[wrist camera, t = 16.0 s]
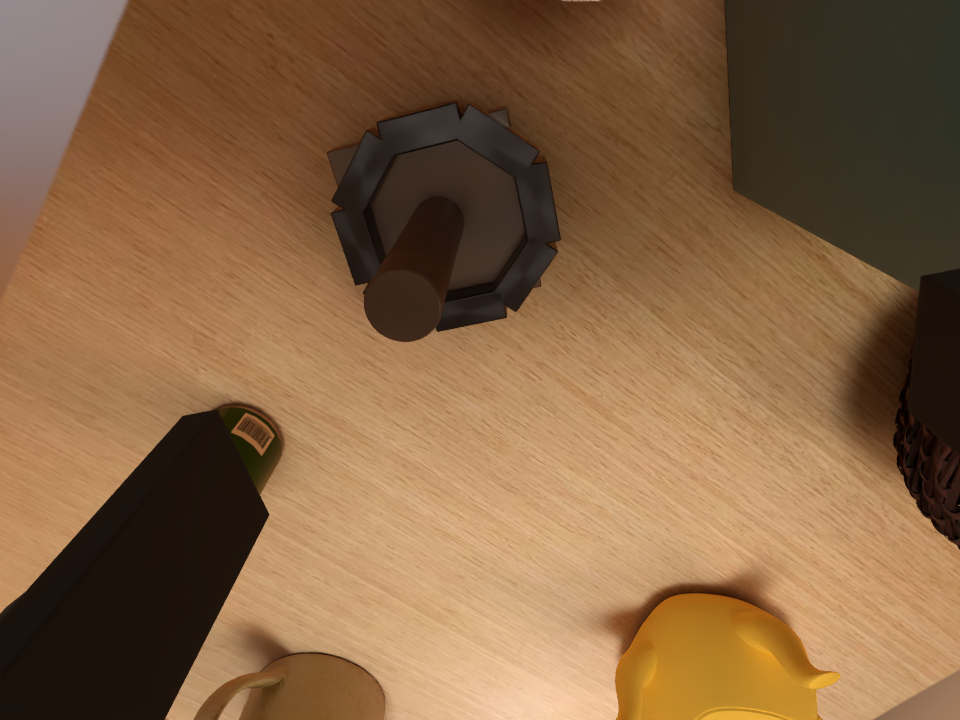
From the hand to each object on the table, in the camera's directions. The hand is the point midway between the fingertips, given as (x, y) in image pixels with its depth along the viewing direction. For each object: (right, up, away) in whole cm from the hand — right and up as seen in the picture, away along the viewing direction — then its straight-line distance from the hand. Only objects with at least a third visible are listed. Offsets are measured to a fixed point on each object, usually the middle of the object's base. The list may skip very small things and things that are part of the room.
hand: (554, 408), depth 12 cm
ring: (-3, +8, +19) cm, 21 cm away
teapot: (+15, -19, +33) cm, 41 cm away
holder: (-4, +9, +20) cm, 22 cm away
